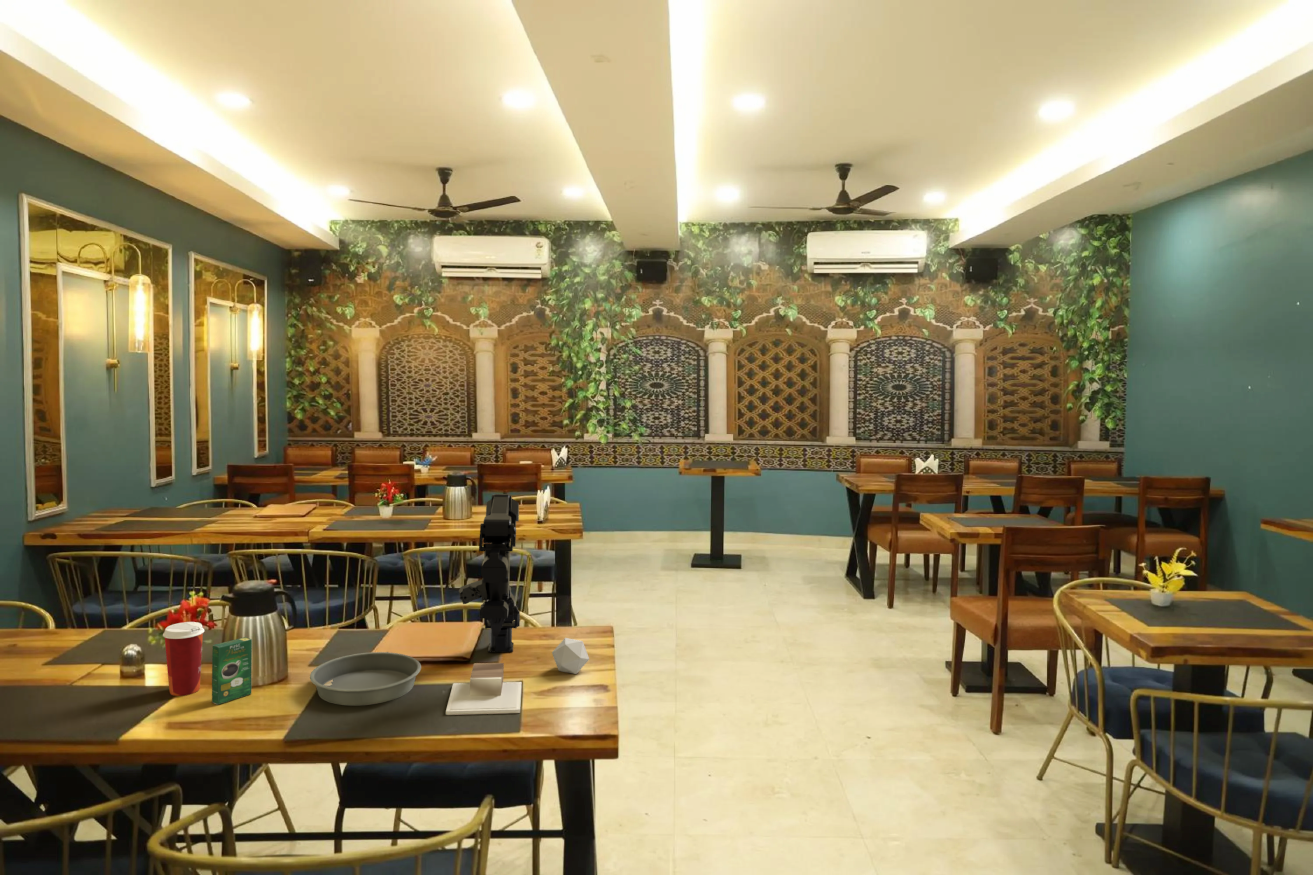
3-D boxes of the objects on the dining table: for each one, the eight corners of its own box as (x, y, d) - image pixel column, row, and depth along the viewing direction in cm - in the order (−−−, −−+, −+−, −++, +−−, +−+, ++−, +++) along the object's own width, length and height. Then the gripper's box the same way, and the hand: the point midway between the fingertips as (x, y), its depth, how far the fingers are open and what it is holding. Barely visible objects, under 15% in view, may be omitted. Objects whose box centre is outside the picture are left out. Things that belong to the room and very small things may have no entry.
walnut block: (474, 663, 200) (470, 678, 190) (503, 662, 201) (501, 678, 191) (473, 679, 201) (469, 695, 191) (503, 678, 202) (500, 695, 192)
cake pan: (371, 662, 213) (371, 644, 213) (442, 682, 201) (443, 664, 201) (286, 693, 192) (286, 674, 192) (360, 718, 180) (360, 698, 179)
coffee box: (245, 691, 192) (245, 635, 191) (253, 694, 190) (252, 637, 189) (211, 702, 185) (210, 644, 184) (218, 705, 183) (217, 647, 182)
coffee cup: (213, 687, 193) (212, 623, 192) (182, 700, 186) (181, 634, 184) (186, 681, 196) (185, 619, 195) (154, 694, 188) (153, 629, 187)
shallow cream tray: (453, 686, 198) (453, 682, 198) (521, 685, 201) (521, 681, 200) (445, 714, 182) (445, 710, 182) (519, 712, 185) (520, 708, 185)
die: (594, 671, 213) (582, 635, 217) (589, 665, 205) (577, 628, 209) (563, 682, 212) (552, 646, 216) (557, 677, 205) (546, 640, 209)
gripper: (465, 561, 204) (464, 622, 206) (457, 582, 186) (456, 650, 188) (511, 561, 206) (510, 622, 207) (507, 582, 187) (506, 649, 189)
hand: (495, 635), depth 198 cm, fingers closed
